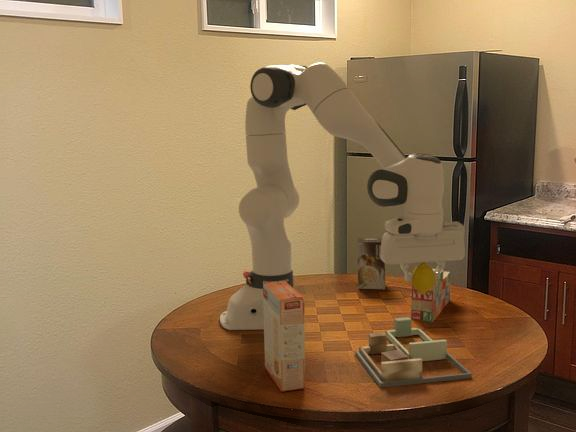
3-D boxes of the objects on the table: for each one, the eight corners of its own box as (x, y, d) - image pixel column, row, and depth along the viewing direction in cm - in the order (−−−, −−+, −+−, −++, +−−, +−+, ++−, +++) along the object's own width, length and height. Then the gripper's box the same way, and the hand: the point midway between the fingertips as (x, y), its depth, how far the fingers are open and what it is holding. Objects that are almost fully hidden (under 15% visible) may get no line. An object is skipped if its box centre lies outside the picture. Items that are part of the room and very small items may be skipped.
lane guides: (380, 387, 138) (380, 383, 137) (355, 354, 156) (355, 350, 155) (471, 377, 141) (471, 373, 141) (437, 346, 159) (437, 343, 159)
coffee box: (385, 284, 214) (385, 237, 211) (385, 289, 208) (385, 242, 205) (358, 283, 215) (358, 237, 213) (357, 289, 209) (357, 241, 206)
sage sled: (410, 362, 150) (410, 344, 149) (384, 335, 167) (384, 319, 166) (446, 358, 151) (447, 340, 151) (417, 332, 169) (418, 316, 168)
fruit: (438, 296, 150) (439, 263, 148) (416, 298, 149) (417, 265, 147) (428, 289, 155) (429, 258, 154) (407, 291, 154) (408, 259, 152)
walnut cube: (390, 378, 142) (390, 359, 141) (380, 371, 146) (381, 352, 145) (408, 375, 144) (408, 356, 143) (398, 367, 148) (398, 349, 147)
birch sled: (382, 383, 139) (382, 363, 138) (358, 352, 157) (358, 334, 156) (422, 379, 141) (422, 359, 140) (393, 348, 158) (394, 331, 157)
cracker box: (307, 389, 138) (305, 296, 134) (280, 393, 136) (278, 300, 132) (288, 364, 151) (286, 279, 147) (264, 367, 149) (261, 282, 145)
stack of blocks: (430, 298, 198) (430, 260, 196) (450, 300, 196) (451, 262, 193) (410, 319, 180) (411, 277, 178) (432, 322, 177) (433, 280, 175)
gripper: (458, 218, 154) (456, 273, 157) (378, 222, 150) (377, 278, 153) (470, 223, 148) (468, 280, 151) (387, 228, 144) (386, 286, 147)
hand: (422, 279), depth 152 cm, fingers closed on fruit, 5 cm apart
